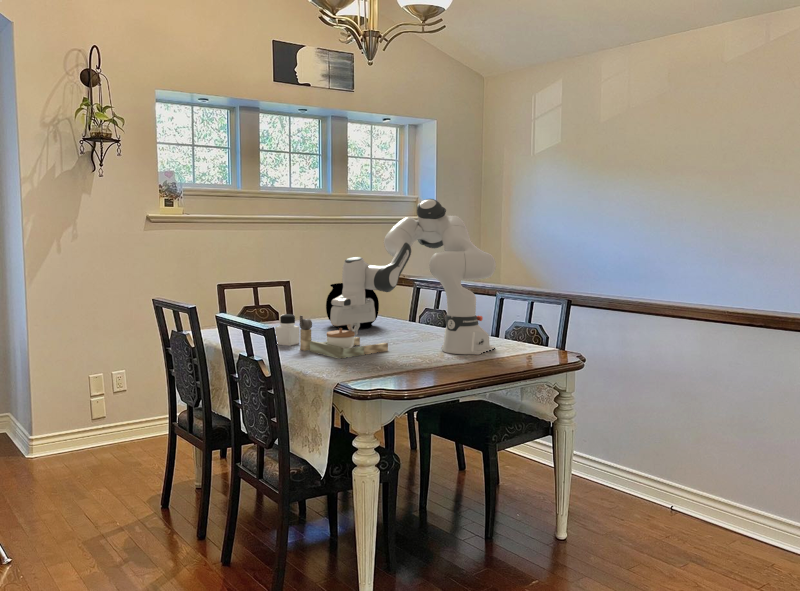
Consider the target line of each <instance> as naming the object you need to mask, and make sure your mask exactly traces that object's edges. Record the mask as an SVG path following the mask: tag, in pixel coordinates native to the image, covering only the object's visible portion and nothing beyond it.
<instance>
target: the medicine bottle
mask: <svg viewBox="0 0 800 591" xmlns="http://www.w3.org/2000/svg"><path fill="white" fill-rule="evenodd" d="M275 331H276V336H277V342H278V345H279V346H288V347H290V346H291V347H292V346H295V345H298V344H300V325H296V316H295V315H294V314H292V313H285V314H284V313H283V314H281V315H280V316H279V325H278V326H276V327H275V328H274V332H275ZM278 345H277V346H278Z"/></svg>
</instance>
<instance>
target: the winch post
mask: <svg viewBox="0 0 800 591" xmlns="http://www.w3.org/2000/svg"><path fill="white" fill-rule="evenodd" d="M303 316H304V315H299V345H300V348H299V349H300V350H301V351H304V352H306V351H310V341H312V326H313V322H312V319H310V318H305V319H303V318H304V317H303Z"/></svg>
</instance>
